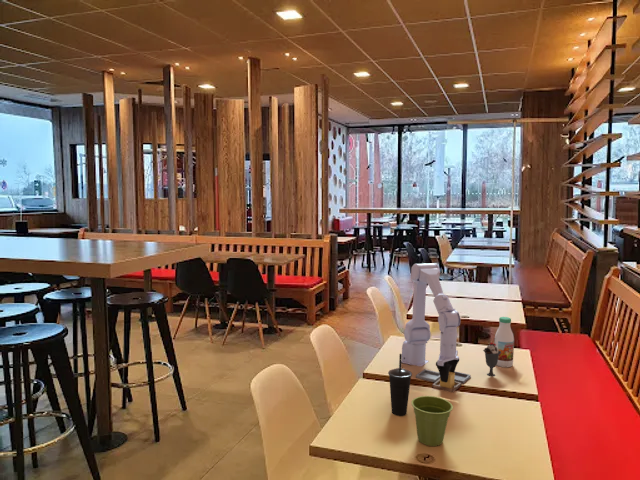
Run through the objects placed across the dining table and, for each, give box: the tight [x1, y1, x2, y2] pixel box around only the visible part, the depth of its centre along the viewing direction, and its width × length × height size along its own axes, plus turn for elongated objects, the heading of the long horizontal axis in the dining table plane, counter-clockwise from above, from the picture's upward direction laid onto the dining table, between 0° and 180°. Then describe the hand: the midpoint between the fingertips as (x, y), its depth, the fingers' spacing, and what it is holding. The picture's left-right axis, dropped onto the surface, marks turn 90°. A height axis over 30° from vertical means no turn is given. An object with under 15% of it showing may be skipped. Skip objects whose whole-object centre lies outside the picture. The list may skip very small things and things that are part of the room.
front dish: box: [431, 379, 462, 393], centre depth 190 cm, size 8×8×2 cm
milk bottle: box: [493, 316, 515, 368], centre depth 213 cm, size 8×8×20 cm
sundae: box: [482, 337, 501, 377], centre depth 201 cm, size 7×7×15 cm
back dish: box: [454, 370, 472, 385], centre depth 198 cm, size 8×8×2 cm
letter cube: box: [440, 372, 455, 388], centre depth 189 cm, size 4×4×5 cm
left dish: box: [415, 368, 440, 383], centre depth 199 cm, size 8×8×2 cm
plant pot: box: [411, 395, 454, 447], centre depth 150 cm, size 12×12×11 cm
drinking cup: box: [387, 353, 413, 417], centre depth 168 cm, size 8×8×20 cm
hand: (447, 379), depth 189 cm, fingers open, 5 cm apart
